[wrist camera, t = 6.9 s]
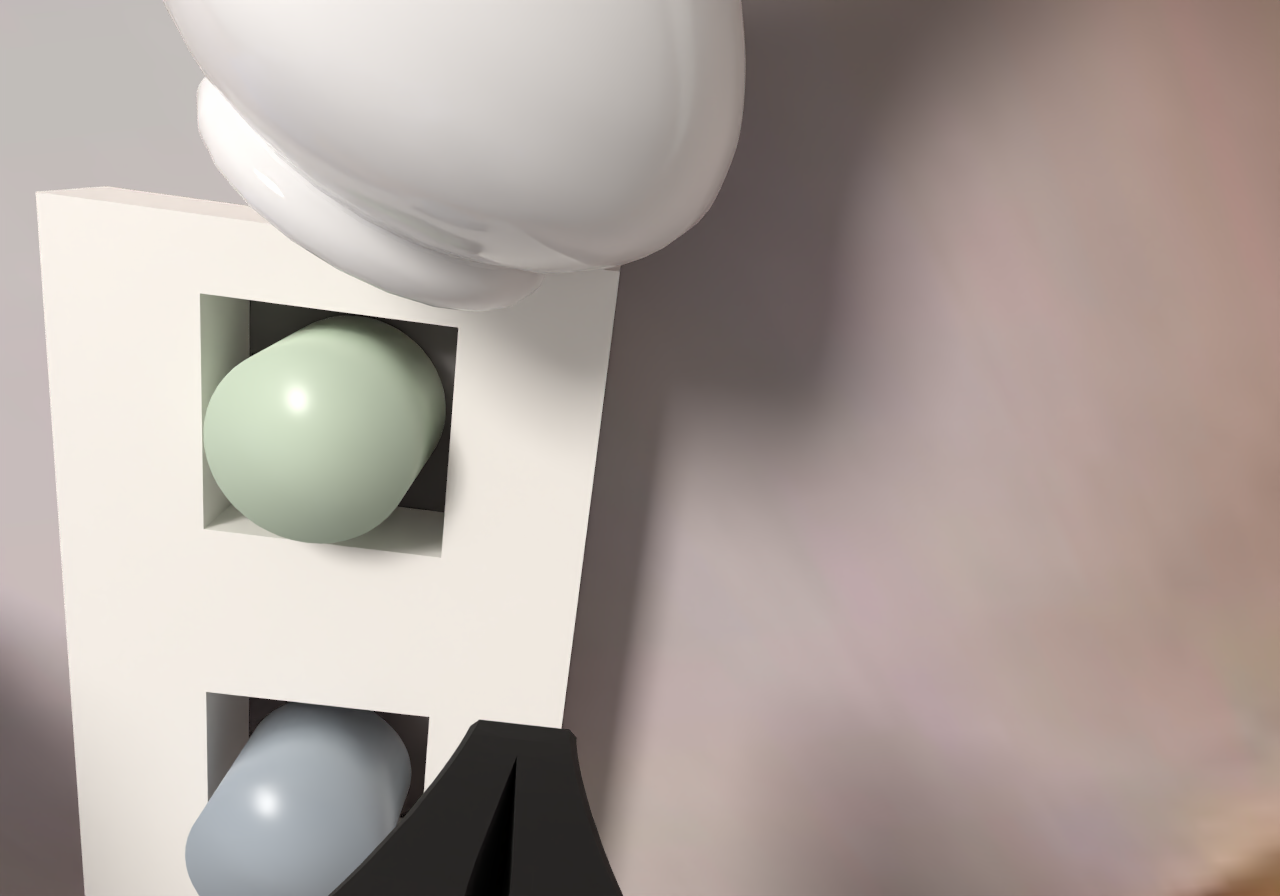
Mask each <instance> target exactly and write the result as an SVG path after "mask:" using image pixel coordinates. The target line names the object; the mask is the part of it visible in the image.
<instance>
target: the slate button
mask: <svg viewBox="0 0 1280 896" xmlns="http://www.w3.org/2000/svg"><path fill="white" fill-rule="evenodd" d="M410 782H411V764H410V758H409V755H408V752H407V749H406V747H405V745H404V743H403V741H402V740H401V738H400V737H399V735H398V734H397V733H396V731H395V730H394V729H393V728H392V727H391V726H390V725H389V724H388V723H387V722H386V721H385V720H384V719H382V718H381V717H380V716H378V715H377V714H375V713H374V712H372V711H370V710H363V709H354V708H345V707H336V706H327V705H318V704H309V703H301V702H290V703H287V704H285V705H283V706H281V707H279V708H277V709H276V710H274V711H272V712H271V713H270V714H269V715H267V716H266V717H265V718H264V719H263V720H262V721H261V722H260V723H259V725H258V726H257V727H256V729H255V731H254V732H253V734H252V735H251V737H250V738H249V740H248V741H247V743H246V744H245V746H244V747H243V749H242V751H241V752H240V754H239V755H238V757H237V758H236V760H235V761H234V763H233V764H232V766H231V768H230V769H229V771H228V772H227V774H226V775H225V777H224V778H223V780H222V781H221V783H220V784H219V786H218V788H217V789H216V791H215V792H214V794H213V795H212V797H211V798H210V800H209V801H208V803H207V804H206V806H205V808H204V809H203V811H202V812H201V814H200V815H199V817H198V818H197V820H196V821H195V823H194V825H193V826H192V828H191V830H190V833H189V835H188V838H187V842H186V848H185V860H186V867H187V871H188V875H189V878H190V880H191V882H192V884H193V886H194V888H195V890H196V891H197V893H198V895H199V896H328V895H329V894H330V893H331V892H332V891H334V890H335V889H336V888H337V887H338V886H339V885H340V884H341V883H342V882H343V881H344V880H345V879H346V878H347V877H348V876H349V875H350V874H351V873H352V872H353V871H354V870H355V869H356V868H357V867H358V866H359V865H360V864H361V863H362V862H363V861H364V860H365V859H366V858H367V857H368V856H369V855H370V854H371V853H372V851H373V850H374V849H375V848H376V847H377V846H378V845H379V844H380V843H381V842H382V841H383V840H384V839H385V838H386V836H387V835H388V834H389V833H390V832H391V831H392V830H393V829H394V828H395V827H396V825H397V822H398V819H399V816H400V813H401V810H402V808H403V805H404V802H405V799H406V796H407V793H408V790H409V787H410Z"/></svg>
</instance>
